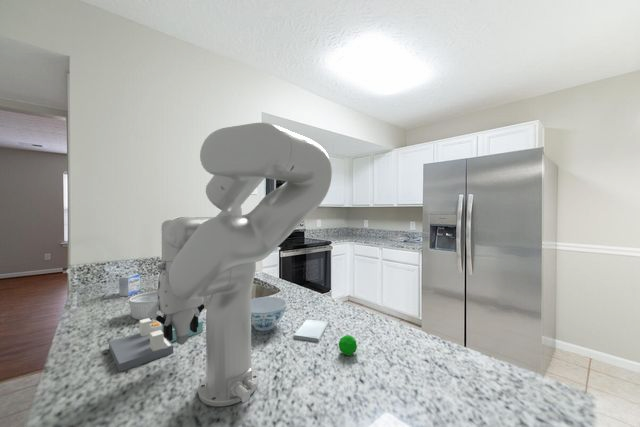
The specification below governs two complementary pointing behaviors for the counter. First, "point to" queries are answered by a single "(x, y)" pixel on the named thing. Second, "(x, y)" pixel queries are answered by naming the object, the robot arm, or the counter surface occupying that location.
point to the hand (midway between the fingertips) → (181, 334)
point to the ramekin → (143, 305)
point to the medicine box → (129, 285)
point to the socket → (190, 333)
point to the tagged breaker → (154, 327)
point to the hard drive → (311, 330)
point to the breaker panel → (139, 347)
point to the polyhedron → (347, 345)
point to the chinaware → (266, 312)
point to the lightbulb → (182, 324)
